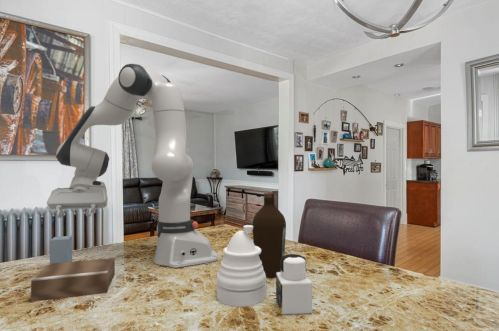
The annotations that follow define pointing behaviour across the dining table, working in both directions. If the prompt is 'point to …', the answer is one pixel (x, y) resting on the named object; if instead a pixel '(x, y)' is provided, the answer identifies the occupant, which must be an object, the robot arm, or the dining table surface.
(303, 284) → the medicine bottle
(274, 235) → the olive oil
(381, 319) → the dining table surface
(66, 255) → the blue-grey rectangular block
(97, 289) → the dock
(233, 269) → the honey pot
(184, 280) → the dining table surface
